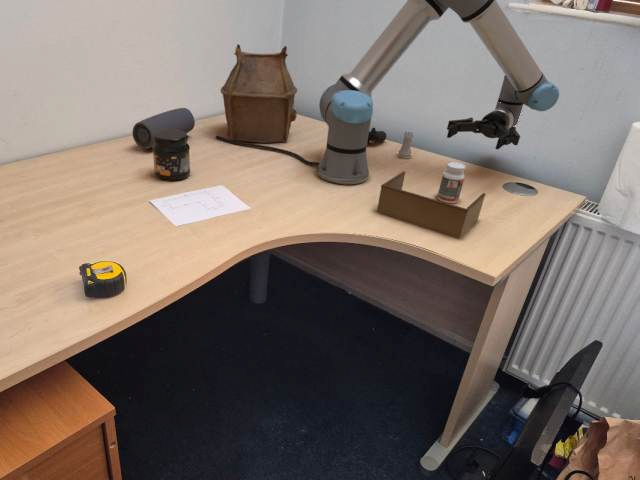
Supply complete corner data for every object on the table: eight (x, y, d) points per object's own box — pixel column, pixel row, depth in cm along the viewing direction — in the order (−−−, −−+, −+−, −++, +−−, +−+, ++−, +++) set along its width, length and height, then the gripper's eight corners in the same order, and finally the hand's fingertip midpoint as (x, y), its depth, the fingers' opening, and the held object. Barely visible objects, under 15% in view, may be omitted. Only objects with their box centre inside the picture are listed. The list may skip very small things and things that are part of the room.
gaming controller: (339, 142, 192) (334, 134, 182) (342, 126, 191) (338, 118, 182) (384, 149, 187) (381, 141, 177) (388, 133, 186) (386, 125, 177)
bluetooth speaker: (175, 132, 186) (173, 103, 181) (196, 137, 182) (195, 108, 177) (132, 149, 170) (129, 118, 164) (154, 155, 166) (152, 123, 160)
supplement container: (147, 174, 152) (143, 133, 145) (174, 166, 158) (172, 126, 152) (169, 184, 146) (167, 142, 139) (198, 175, 152) (197, 135, 146)
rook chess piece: (396, 157, 172) (400, 133, 168) (398, 153, 176) (403, 130, 171) (409, 159, 171) (414, 135, 167) (411, 155, 174) (416, 132, 170)
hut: (296, 146, 178) (304, 52, 161) (218, 143, 178) (217, 48, 161) (293, 127, 197) (300, 40, 180) (222, 124, 196) (222, 37, 180)
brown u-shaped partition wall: (398, 196, 145) (403, 171, 141) (477, 220, 134) (485, 193, 130) (376, 211, 136) (381, 184, 132) (459, 238, 125) (467, 210, 121)
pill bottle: (459, 204, 142) (468, 170, 136) (437, 202, 143) (446, 167, 137) (456, 196, 147) (465, 162, 141) (436, 194, 147) (444, 160, 142)
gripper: (535, 145, 153) (515, 162, 139) (453, 126, 165) (427, 141, 151) (544, 119, 149) (524, 135, 135) (459, 102, 161) (433, 115, 147)
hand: (473, 138), depth 143 cm, fingers open, 13 cm apart
